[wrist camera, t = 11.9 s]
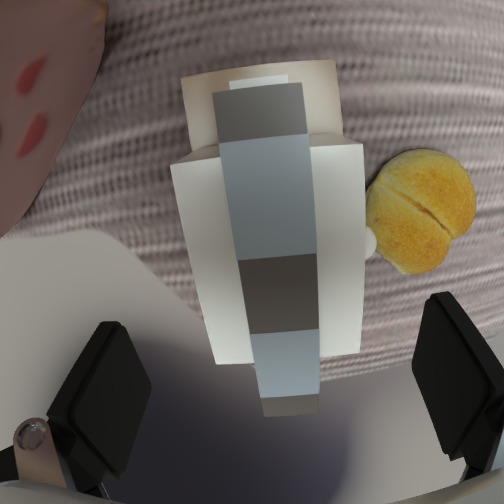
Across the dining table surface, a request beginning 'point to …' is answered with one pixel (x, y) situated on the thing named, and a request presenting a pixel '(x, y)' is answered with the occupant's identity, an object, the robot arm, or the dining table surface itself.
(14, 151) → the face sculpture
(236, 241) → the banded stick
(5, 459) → the robot arm
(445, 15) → the dining table surface
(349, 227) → the white block on board
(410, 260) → the bread roll
